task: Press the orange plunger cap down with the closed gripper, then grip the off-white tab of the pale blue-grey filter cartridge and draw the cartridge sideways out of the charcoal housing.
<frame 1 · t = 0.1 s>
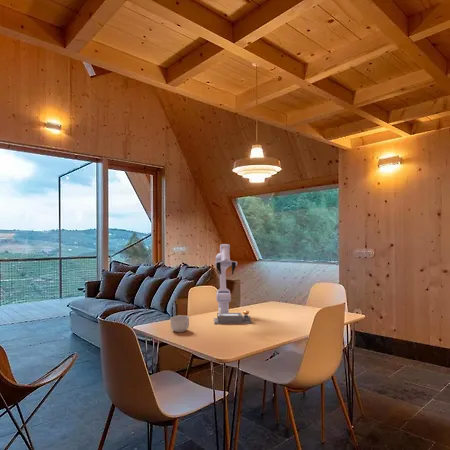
hand: (226, 273, 231), 32 cm above the table, tool tilted 50°, fingers open, 7 cm apart
teacup: (179, 330, 216), on the table
plunger: (246, 313, 239), point 5 cm above the table, slide at 0.0 cm
cartridge: (228, 314, 238), point 5 cm above the table, slide at 0.0 cm
housing: (228, 321, 238), on the table
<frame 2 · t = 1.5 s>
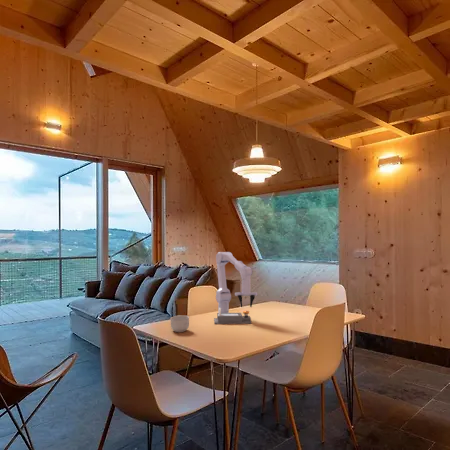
hand: (246, 306, 239), 9 cm above the table, tool pointing down, fingers open, 5 cm apart
nothing on the table moved.
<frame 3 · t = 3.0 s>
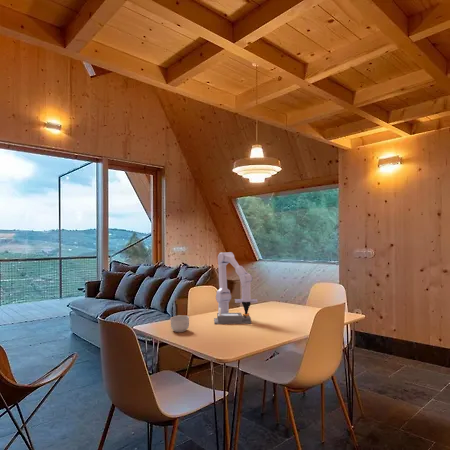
hand: (246, 313, 239), 5 cm above the table, tool pointing down, fingers closed, pressing on plunger
plunger: (246, 316, 239), point 3 cm above the table, slide at 1.5 cm, touching gripper
everything else where it was.
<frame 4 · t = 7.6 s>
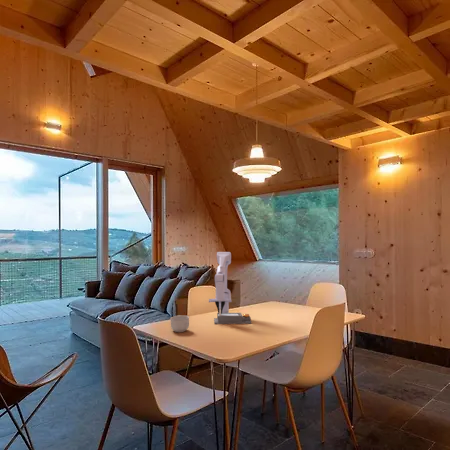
hand: (219, 313, 238), 5 cm above the table, tool pointing down, fingers closed on cartridge
plunger: (246, 317, 239), point 3 cm above the table, slide at 2.0 cm
cartridge: (228, 314, 238), point 5 cm above the table, slide at 0.0 cm, touching gripper
everything else where it was.
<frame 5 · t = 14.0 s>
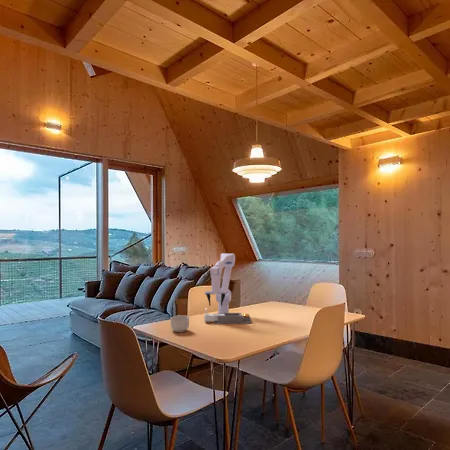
hand: (215, 305, 244), 9 cm above the table, tool pointing down, fingers open, 7 cm apart
cartridge: (214, 314, 238), point 5 cm above the table, slide at 9.0 cm
everything else where it was.
at the end: plunger slide at 2.0 cm; cartridge slide at 9.0 cm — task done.
